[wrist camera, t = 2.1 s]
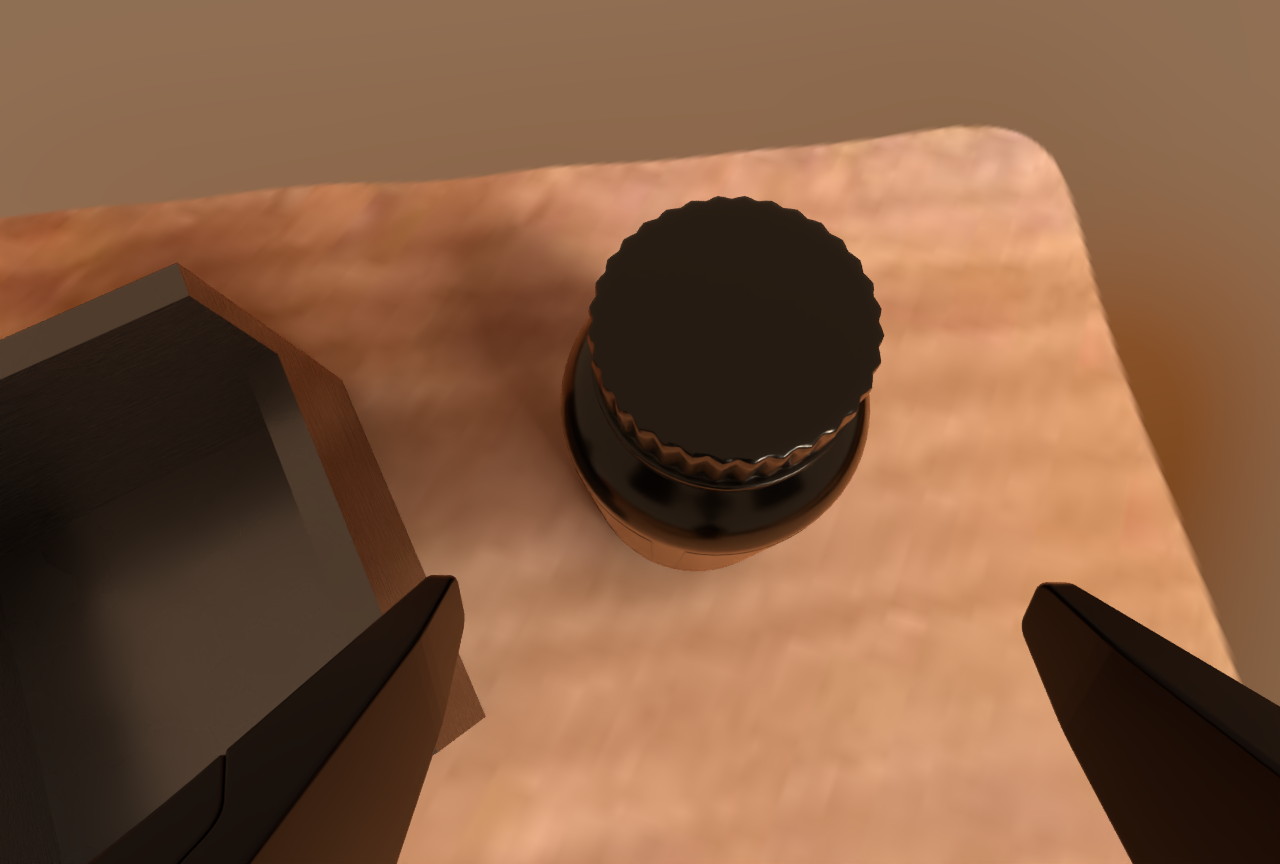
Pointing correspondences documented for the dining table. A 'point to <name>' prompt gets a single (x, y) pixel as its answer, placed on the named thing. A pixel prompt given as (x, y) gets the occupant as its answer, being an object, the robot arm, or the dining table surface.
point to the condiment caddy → (171, 553)
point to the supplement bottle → (722, 381)
